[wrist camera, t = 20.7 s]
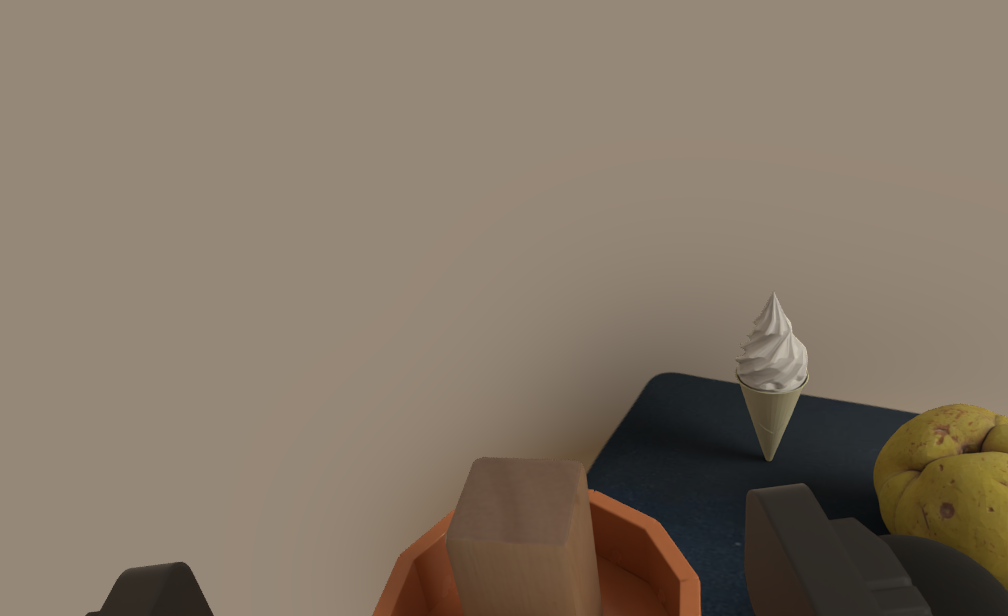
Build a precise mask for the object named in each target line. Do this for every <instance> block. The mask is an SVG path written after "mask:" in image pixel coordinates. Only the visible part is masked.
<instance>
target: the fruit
mask: <svg viewBox="0 0 1008 616" xmlns="http://www.w3.org/2000/svg"><path fill="white" fill-rule="evenodd" d="M873 479H874V486H875V490H876V493H877V496H878V499H879V506H880V511H881V516H882V519H883V521H884V523H885V525H886V527H887V529H888V530H889V532H890V533H891V535H892V534H899V535H912V536H918V537H923V538H928V539H931V540H935V541H938V542H941V543H943V544H946V545H948V546H950V547H953V548H955V549H956V550H958V551H960V552H962V553H964V554H966V555H967V556H969V557H970V558H972V559H973V560H975V561H976V562H978V563H979V564H980V565H982V566H983V567H984V568H985V569H987V570H988V571H989V572H990V573H991V574H992V575H993V576H994V577H995V578H996V579H997V580H998V581H999V582H1000V583H1001V584H1002V585H1003V586H1004V588H1005V589H1006V590H1007V591H1008V417H1005V416H1002V415H998V414H996V413H993V412H991V411H989V410H987V409H984V408H980V407H977V406H973V405H966V404H953V405H946V406H941V407H938V408H935V409H932V410H928V411H926V412H924V413H922V414H920V415H918V416H916V417H914V418H913V419H912V420H910V421H909V422H907V423H906V424H904V425H903V426H901V427H900V428H899V429H898V430H897V431H896V432H895V433H894V434H893V435H892V436H891V438H890V439H889V440H888V441H887V443H886V444H885V445H884V447H883V448H882V450H881V452H880V454H879V456H878V458H877V460H876V463H875V466H874V472H873Z"/></svg>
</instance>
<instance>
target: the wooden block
mask: <svg viewBox="0 0 1008 616" xmlns="http://www.w3.org/2000/svg"><path fill="white" fill-rule="evenodd" d="M445 543H446V548H447V552H448V556H449V560H450V564H451V568H452V572H453V576H454V580H455V584H456V587H457V591H458V595H459V599H460V603H461V607H462V611H463V615H464V616H603V609H602V601H601V593H600V585H599V577H598V568H597V560H596V552H595V544H594V536H593V528H592V519H591V511H590V503H589V495H588V487H587V479H586V472H585V470H584V467H583V466H582V464H581V463H580V462H577V461H574V460H546V459H518V458H488V457H482V458H479V459H477V460H475V461H474V462H473V464H472V467H471V470H470V472H469V475H468V478H467V480H466V483H465V485H464V488H463V491H462V493H461V496H460V499H459V501H458V504H457V506H456V509H455V512H454V514H453V517H452V520H451V522H450V525H449V527H448V530H447V533H446V536H445Z"/></svg>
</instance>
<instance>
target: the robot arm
mask: <svg viewBox="0 0 1008 616" xmlns="http://www.w3.org/2000/svg"><path fill="white" fill-rule="evenodd" d="M744 569H745V578H746V584H747V589H748V594H749V598H750V601H751V605H752V608H753V611H754V613H755V616H933V615H932V613H931V608H930V607H929V605H928V604H927V602H926V601H925V599H924V598H923V596H922V595H921V593H920V592H919V590H918V589H917V587H916V586H913V585H912V582H911V578H910V577H909V575H908V574H907V572H906V571H905V569H904V568H903V566H902V565H901V563H900V562H899V560H898V559H897V557H896V556H895V554H894V553H893V551H892V550H891V548H890V547H889V545H888V544H887V543H886V542H884V541H883V540H882V539H880V538H879V537H878V536H877V535H875V534H874V533H873V532H871V531H870V530H869V529H868V528H866V527H865V526H864V525H862V524H861V523H860V522H859V521H857V520H856V519H855V518H853V517H850V518H842V519H834V520H828V518H827V516H826V515H825V513H824V511H823V510H822V508H821V506H820V505H819V503H818V501H817V499H816V498H815V496H814V494H813V493H812V491H811V490H810V489H809V487H808V486H807V485H805V484H803V483H801V484H793V485H785V486H777V487H770V488H762V489H754V490H749V491H748V493H747V497H746V522H745V558H744ZM86 616H214V615H213V613H212V611H211V609H210V608H209V605H208V603H207V601H206V599H205V597H204V595H203V593H202V591H201V589H200V587H199V585H198V583H197V581H196V579H195V577H194V575H193V573H192V571H191V569H190V567H189V566H188V565H187V564H185V563H183V562H176V563H168V564H160V565H153V566H146V567H137V568H130V569H127V570H125V571H124V572H123V573H122V574H121V575H120V576H119V578H118V579H117V581H116V583H115V584H114V586H113V588H112V590H111V592H110V594H109V595H108V597H107V599H106V601H105V603H104V605H103V606H102V608H101V610H100V611H98V612H89V613H88V614H87V615H86Z"/></svg>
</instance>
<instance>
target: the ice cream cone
mask: <svg viewBox="0 0 1008 616" xmlns="http://www.w3.org/2000/svg"><path fill="white" fill-rule="evenodd" d="M753 323H754V324H755V325H757V326H756V327H755V328H754V330H753V332H752V333H751V334H749V335H748V337H749V338H750V339H751V340H750V341H748V342H745V343H743V344H740V345H739V347H741V348H743V349H744V350H745V353H744V354H743V355H742V356H738V357H737V358H736V361H737V362H739V363H740V364H739V365H738V366H737V368H736V370H735V375H736V378H737V380H738V381H739V383H740V386H741V389H742V391H743V394H744V397H745V400H746V404H747V407H748V410H749V413H750V416H751V419H752V421H753V424H754V427H755V430H756V433H757V436H758V439H759V442H760V445H761V448H762V451H763V454H764V457H765V459H766V460H767V461H771V460H772V459H773V456H774V454H775V452H776V449H777V447H778V445H779V442H780V440H781V438H782V435H783V433H784V431H785V428H786V426H787V424H788V422H789V419H790V417H791V415H792V412H793V410H794V407H795V405H796V402H797V400H798V398H799V395H800V393H801V391H802V388H803V386H804V385H805V384H806V383H807V381H808V378H809V374H808V371H807V363H808V358H807V353H806V348H805V346H804V345H803V344H802V343H801V342H800V341H799V340H798V339H797V338H796V337H795V336H794V335H793V334H792V327H791V322H790V320H789V319H787V317H786V316H785V314H784V312H783V310H782V308H781V306H780V304H779V301H778V299H777V297H776V295H775V292H774V291H773V292H772V294H771V296H770V298H769V300H768V302H767V304H766V306H765V307H764V309H763V311H762V313H761V314H760V316H759V317H758V318H757V319H756V320H755V321H754V322H753Z"/></svg>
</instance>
